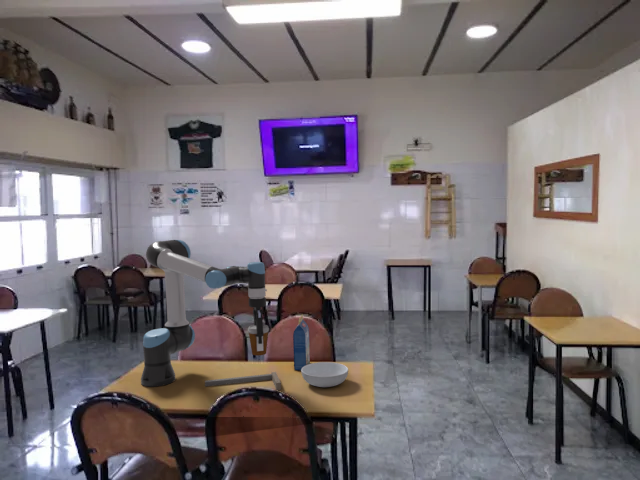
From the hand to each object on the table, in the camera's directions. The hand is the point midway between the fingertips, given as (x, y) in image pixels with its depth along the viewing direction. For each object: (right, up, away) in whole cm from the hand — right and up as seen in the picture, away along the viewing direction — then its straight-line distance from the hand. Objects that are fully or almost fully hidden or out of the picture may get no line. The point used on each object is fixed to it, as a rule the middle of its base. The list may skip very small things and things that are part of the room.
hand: (259, 347), depth 215 cm
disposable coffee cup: (0, -3, 0) cm, 3 cm away
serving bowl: (+29, -16, +1) cm, 34 cm away
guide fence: (-7, -17, -1) cm, 19 cm away
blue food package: (+18, -15, +26) cm, 35 cm away
